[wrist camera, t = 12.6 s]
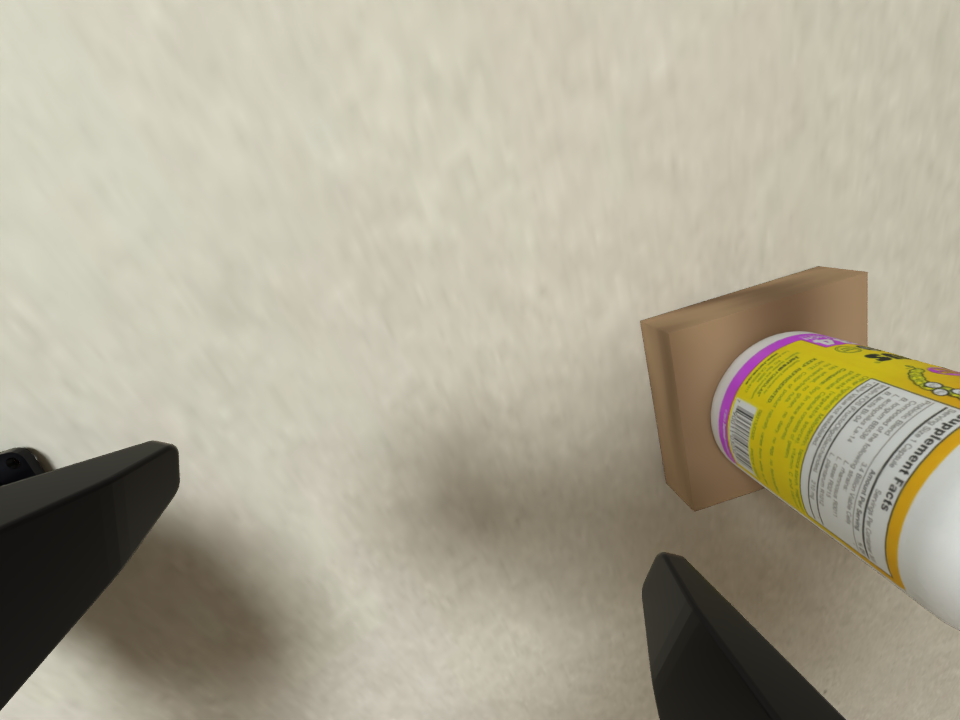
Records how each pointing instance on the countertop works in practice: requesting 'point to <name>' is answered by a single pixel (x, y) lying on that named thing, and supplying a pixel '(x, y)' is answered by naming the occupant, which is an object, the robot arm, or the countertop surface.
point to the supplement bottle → (855, 452)
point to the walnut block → (712, 349)
